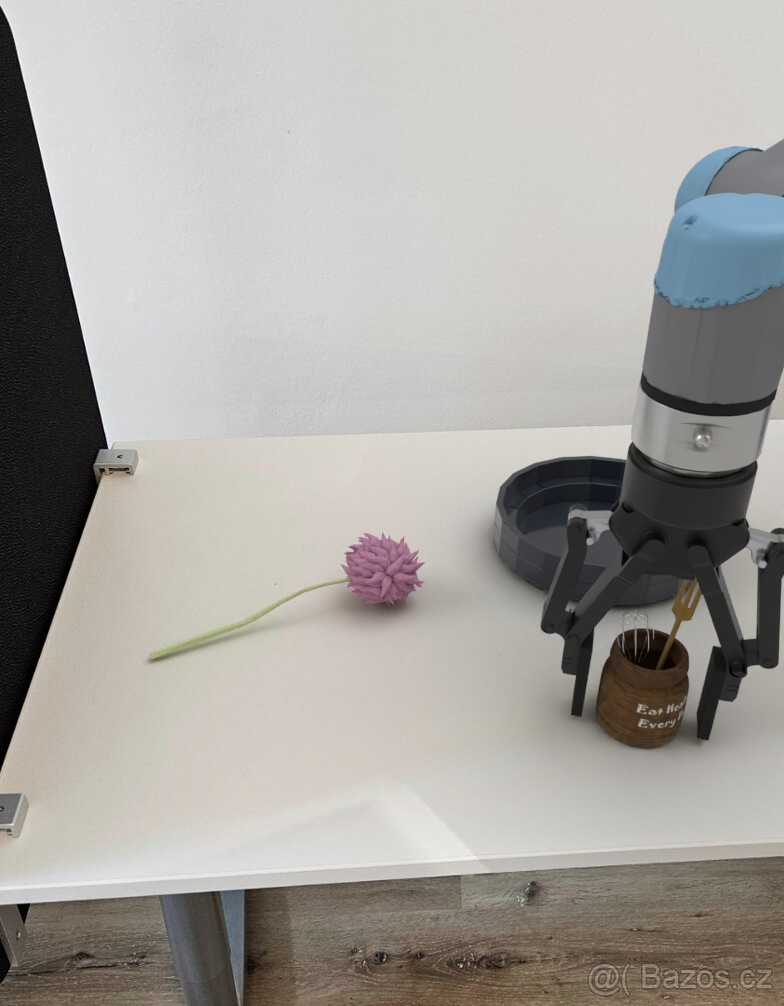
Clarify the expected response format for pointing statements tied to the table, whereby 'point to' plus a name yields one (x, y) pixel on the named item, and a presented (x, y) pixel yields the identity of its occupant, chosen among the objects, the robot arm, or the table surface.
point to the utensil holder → (647, 680)
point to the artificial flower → (372, 571)
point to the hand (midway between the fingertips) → (638, 714)
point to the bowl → (543, 524)
